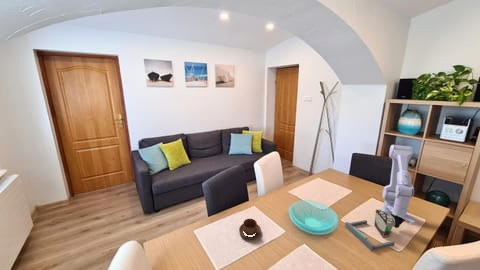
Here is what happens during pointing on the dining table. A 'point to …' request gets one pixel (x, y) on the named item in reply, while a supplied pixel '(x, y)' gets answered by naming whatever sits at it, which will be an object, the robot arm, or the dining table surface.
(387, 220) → the food container
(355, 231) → the grey piece
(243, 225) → the cup and saucer
